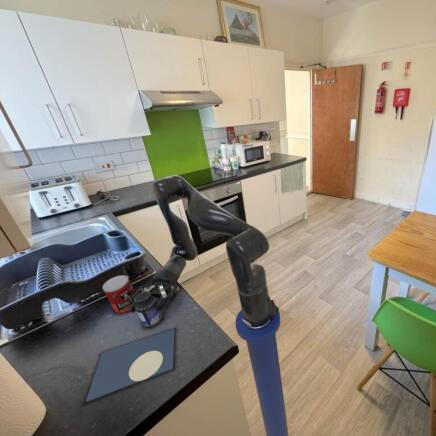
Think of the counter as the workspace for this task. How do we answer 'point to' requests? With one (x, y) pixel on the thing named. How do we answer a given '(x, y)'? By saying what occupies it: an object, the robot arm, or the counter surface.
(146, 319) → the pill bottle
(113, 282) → the canned food
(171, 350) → the placemat
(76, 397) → the counter surface
